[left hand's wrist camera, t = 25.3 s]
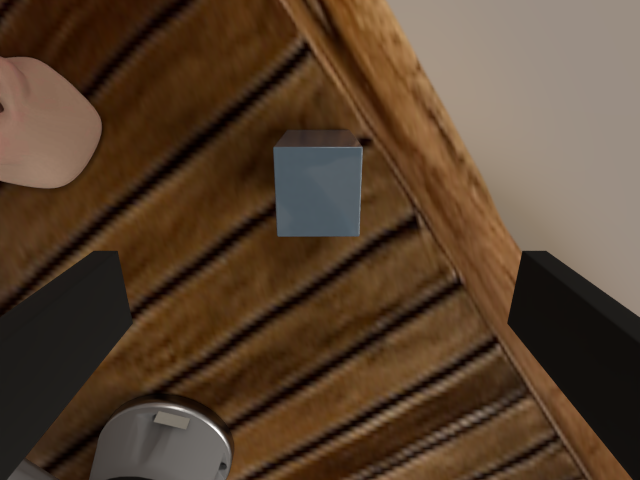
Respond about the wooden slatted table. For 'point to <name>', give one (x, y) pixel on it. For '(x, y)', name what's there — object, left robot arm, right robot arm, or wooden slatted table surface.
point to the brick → (318, 183)
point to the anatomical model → (43, 125)
